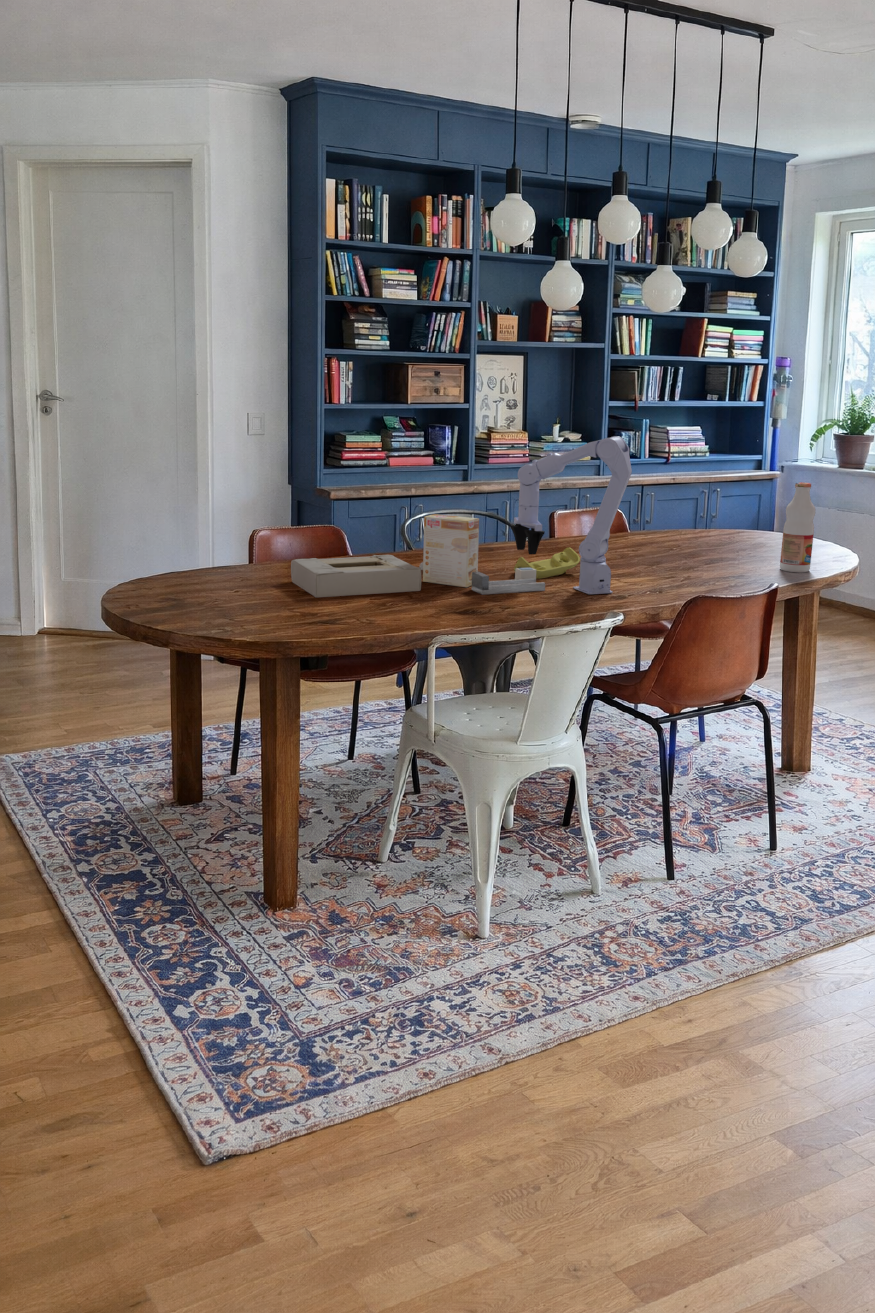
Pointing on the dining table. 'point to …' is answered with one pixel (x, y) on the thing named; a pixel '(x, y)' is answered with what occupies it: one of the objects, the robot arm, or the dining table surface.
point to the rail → (503, 585)
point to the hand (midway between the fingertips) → (526, 551)
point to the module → (525, 573)
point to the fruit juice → (798, 531)
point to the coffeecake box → (450, 549)
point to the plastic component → (552, 564)
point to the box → (355, 575)
